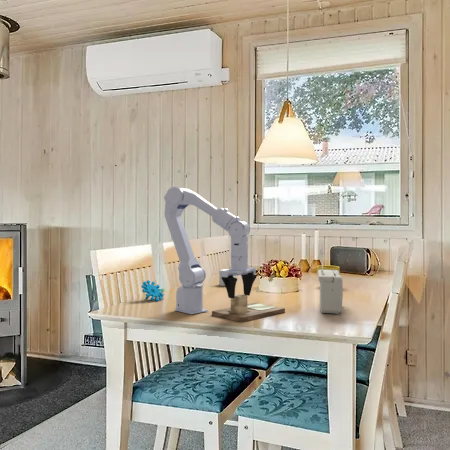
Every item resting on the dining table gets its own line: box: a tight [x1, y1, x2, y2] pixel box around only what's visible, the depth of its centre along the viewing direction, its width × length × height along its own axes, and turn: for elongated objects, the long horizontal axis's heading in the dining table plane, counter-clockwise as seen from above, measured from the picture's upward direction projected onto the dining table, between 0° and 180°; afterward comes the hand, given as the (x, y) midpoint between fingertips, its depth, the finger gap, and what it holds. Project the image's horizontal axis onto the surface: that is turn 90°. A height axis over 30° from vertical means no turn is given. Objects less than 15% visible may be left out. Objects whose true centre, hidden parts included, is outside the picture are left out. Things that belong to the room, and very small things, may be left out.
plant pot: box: [316, 264, 341, 283], centre depth 226 cm, size 10×10×10 cm
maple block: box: [230, 293, 248, 314], centre depth 165 cm, size 4×4×7 cm
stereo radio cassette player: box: [317, 251, 344, 315], centre depth 178 cm, size 21×8×20 cm, turn 170°
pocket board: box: [211, 302, 286, 323], centre depth 168 cm, size 14×22×2 cm, turn 134°
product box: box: [218, 268, 237, 287], centre depth 231 cm, size 6×6×7 cm
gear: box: [140, 280, 165, 302], centre depth 194 cm, size 11×6×10 cm
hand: (239, 296), depth 165 cm, fingers open, 7 cm apart
